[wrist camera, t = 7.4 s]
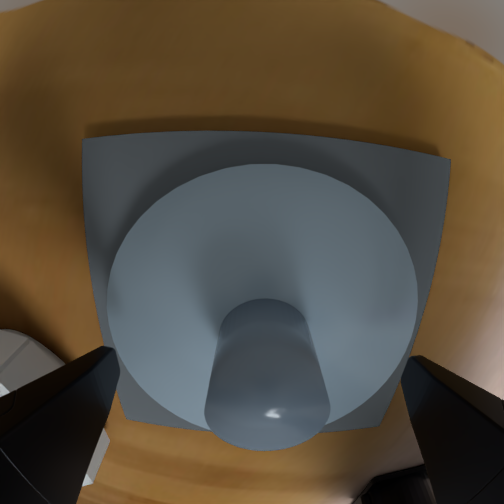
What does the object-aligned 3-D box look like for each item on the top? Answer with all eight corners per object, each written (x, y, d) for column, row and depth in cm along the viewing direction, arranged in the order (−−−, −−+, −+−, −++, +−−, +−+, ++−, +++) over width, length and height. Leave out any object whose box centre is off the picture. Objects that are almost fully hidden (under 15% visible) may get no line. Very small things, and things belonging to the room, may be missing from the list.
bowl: (82, 340, 12) (39, 394, 8) (125, 457, 15) (109, 503, 11) (-32, 310, 12) (-70, 340, 8) (18, 419, 15) (-4, 452, 11)
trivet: (441, 158, 9) (450, 159, 9) (375, 418, 13) (379, 426, 13) (90, 139, 9) (82, 138, 9) (129, 411, 13) (126, 419, 13)
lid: (428, 182, 9) (518, 204, 5) (367, 416, 12) (392, 488, 8) (107, 164, 9) (17, 175, 5) (140, 409, 12) (112, 482, 8)
